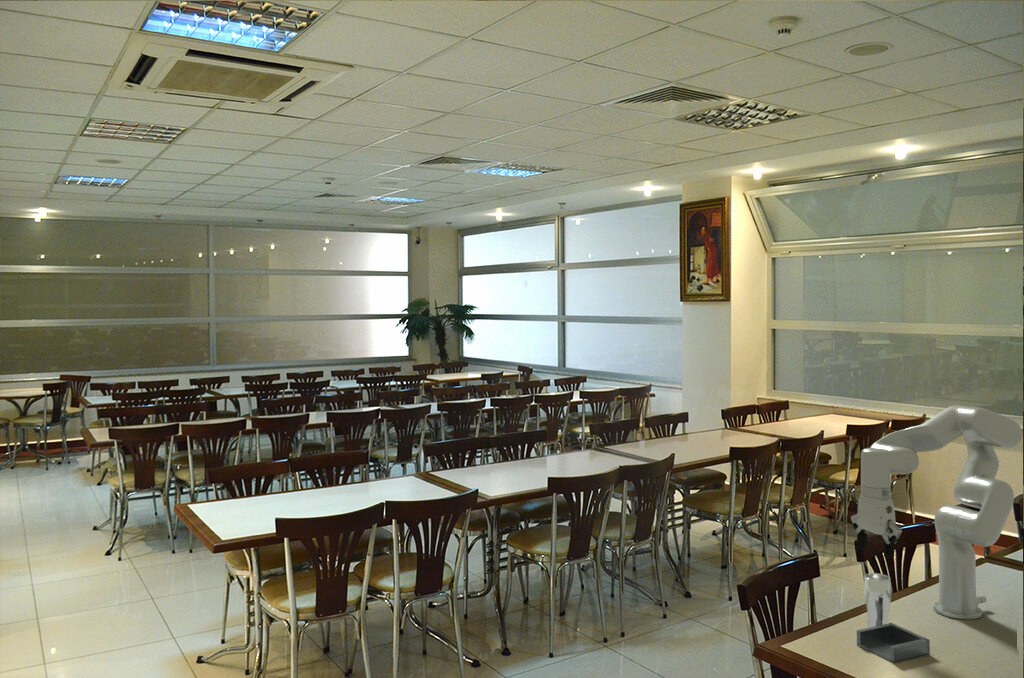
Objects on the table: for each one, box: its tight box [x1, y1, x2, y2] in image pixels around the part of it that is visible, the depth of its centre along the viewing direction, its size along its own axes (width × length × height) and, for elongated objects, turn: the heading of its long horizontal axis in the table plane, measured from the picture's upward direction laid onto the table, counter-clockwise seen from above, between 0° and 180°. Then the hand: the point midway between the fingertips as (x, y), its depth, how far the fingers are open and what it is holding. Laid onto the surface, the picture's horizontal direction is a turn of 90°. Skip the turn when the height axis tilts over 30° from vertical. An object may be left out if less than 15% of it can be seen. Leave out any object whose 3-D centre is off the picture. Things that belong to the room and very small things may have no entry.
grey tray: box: [856, 622, 931, 664], centre depth 210 cm, size 12×12×4 cm
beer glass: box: [863, 572, 892, 628], centre depth 223 cm, size 7×7×15 cm
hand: (875, 552), depth 222 cm, fingers open, 9 cm apart
